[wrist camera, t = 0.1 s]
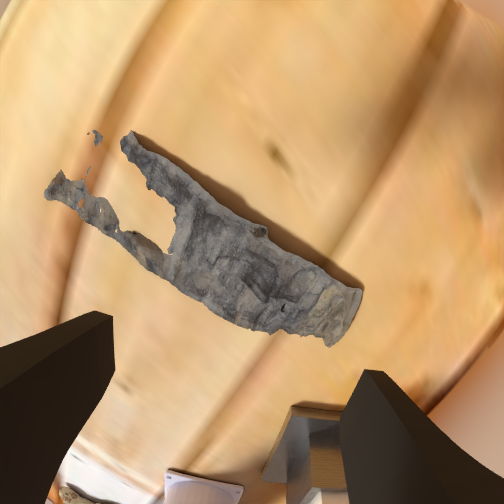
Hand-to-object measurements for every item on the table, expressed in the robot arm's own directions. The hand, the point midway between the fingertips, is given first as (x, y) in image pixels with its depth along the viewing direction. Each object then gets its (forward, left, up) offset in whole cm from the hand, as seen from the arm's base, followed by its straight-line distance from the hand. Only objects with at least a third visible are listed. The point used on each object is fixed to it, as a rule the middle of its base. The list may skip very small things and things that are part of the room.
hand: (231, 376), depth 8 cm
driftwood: (0, +3, -11) cm, 11 cm away
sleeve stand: (-16, -10, -10) cm, 21 cm away
